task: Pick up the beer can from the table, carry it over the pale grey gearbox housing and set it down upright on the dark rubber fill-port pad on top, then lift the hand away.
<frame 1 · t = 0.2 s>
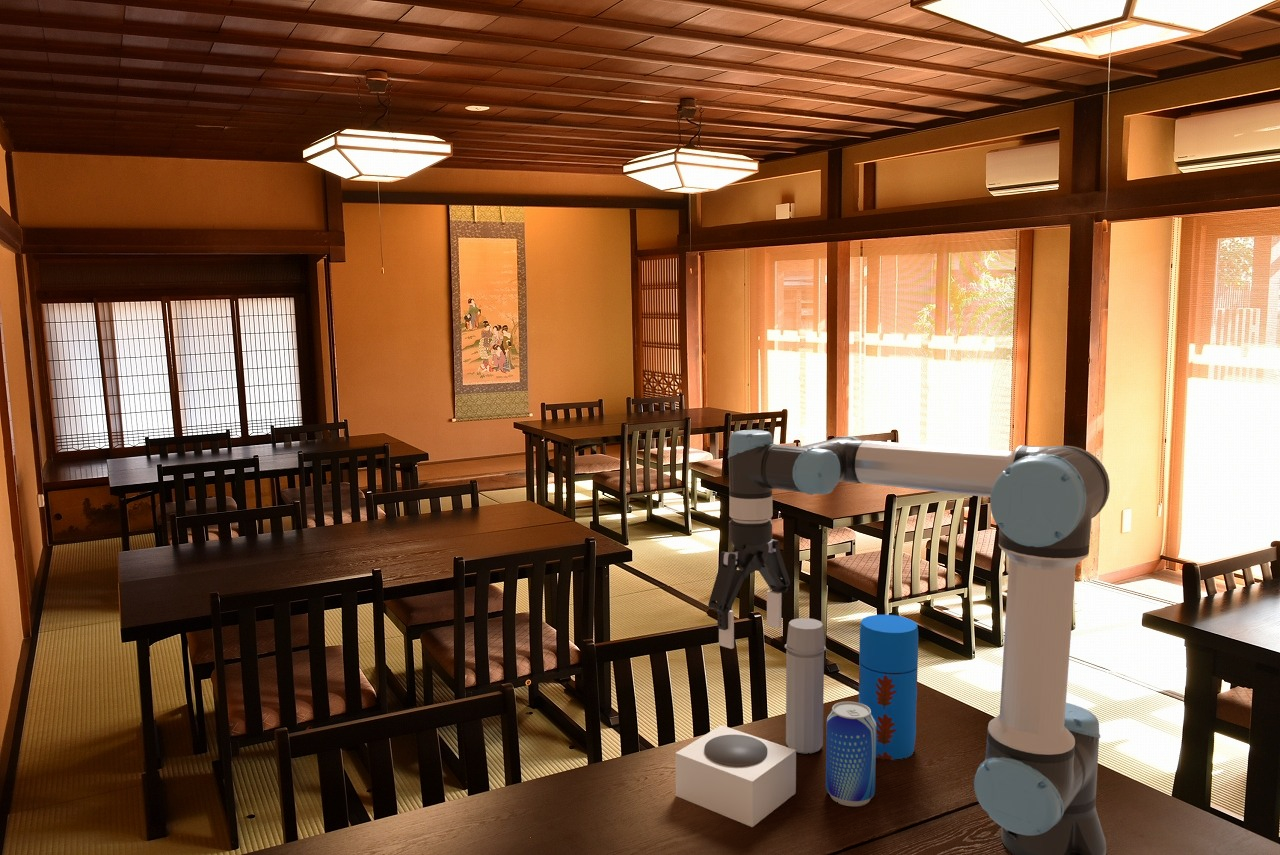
hand: (750, 636, 163), 27 cm above the table, tool pointing down, fingers open, 13 cm apart
beer can: (850, 797, 162), on the table
water bottle: (804, 745, 181), on the table
gearbox: (735, 794, 163), on the table
thermos: (886, 748, 180), on the table
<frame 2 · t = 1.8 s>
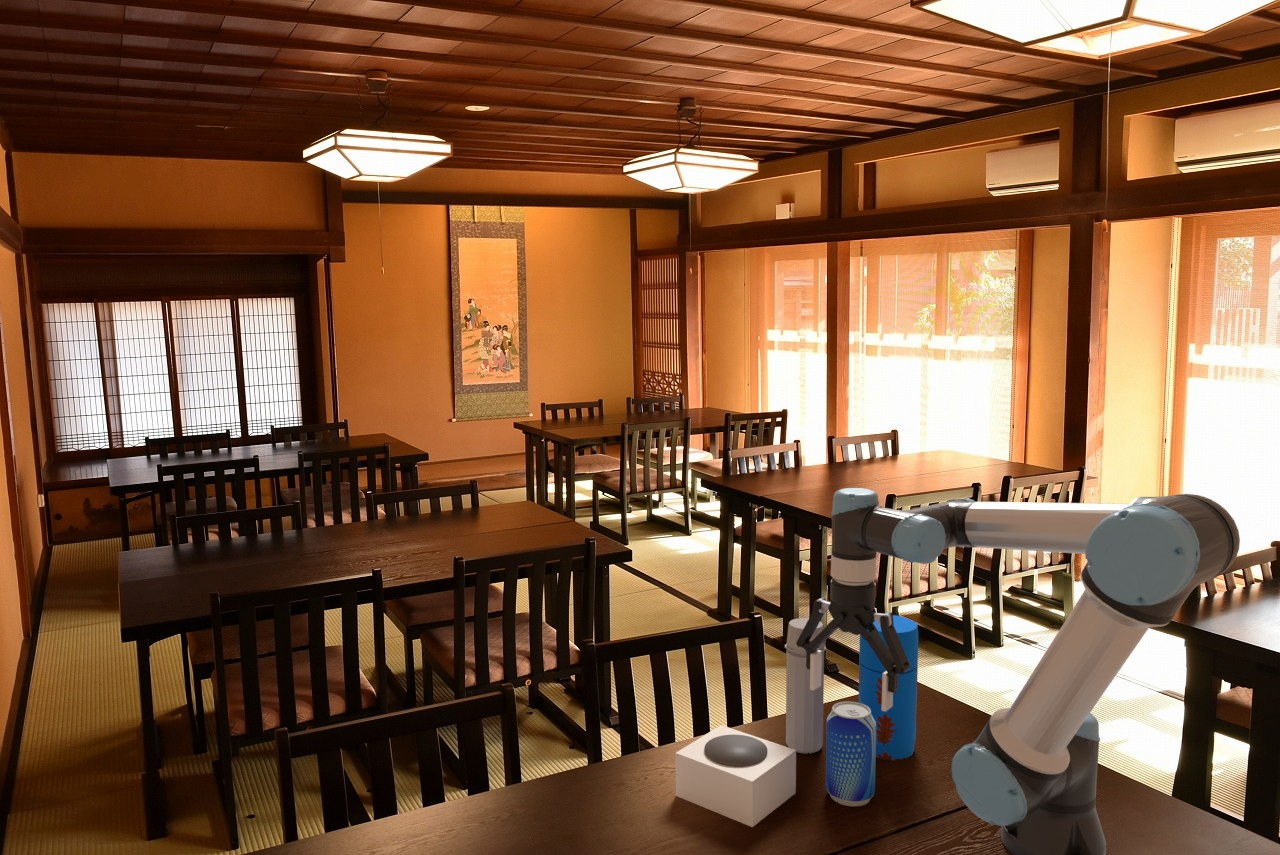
hand: (850, 698, 160), 18 cm above the table, tool pointing down, fingers open, 13 cm apart
nothing on the table moved.
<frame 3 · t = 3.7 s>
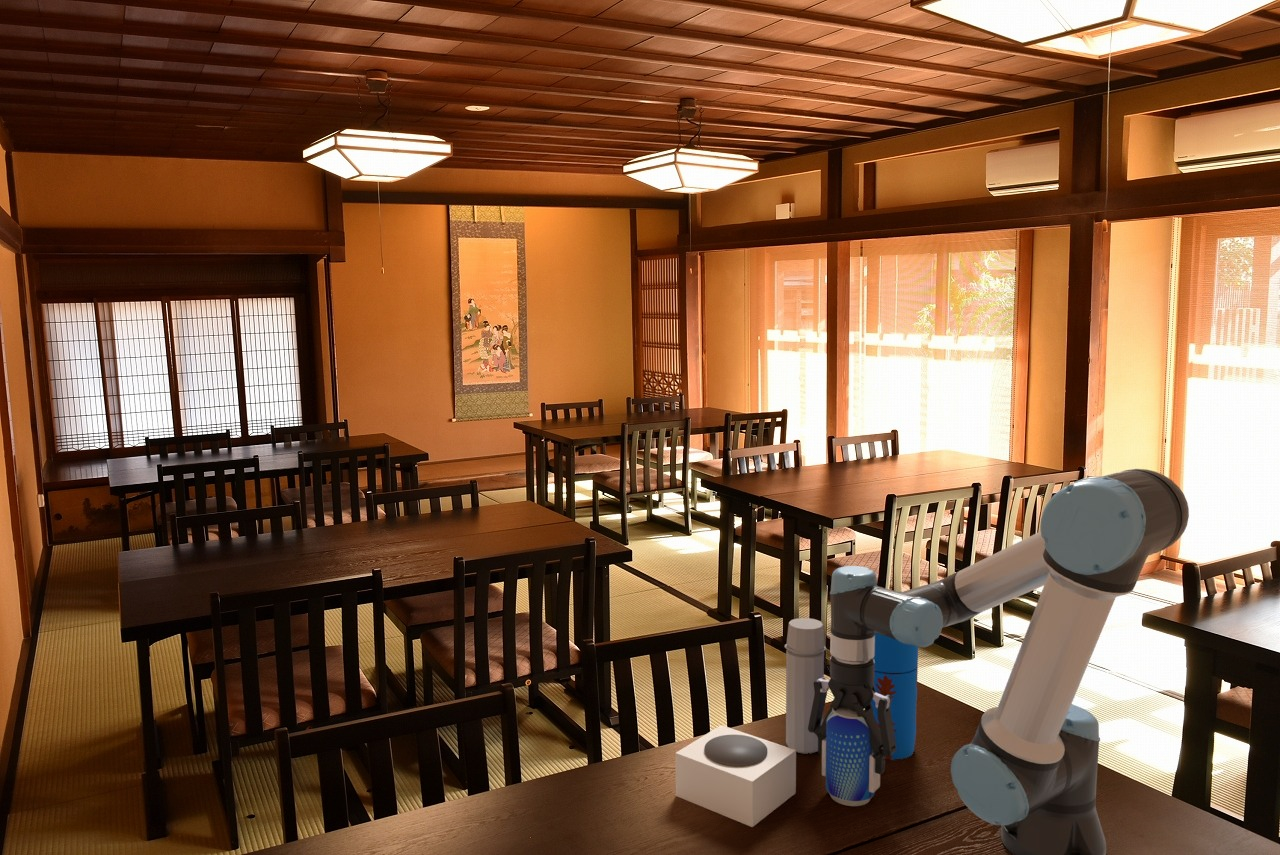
hand: (850, 780, 161), 3 cm above the table, tool pointing down, fingers closed on beer can, 8 cm apart
beer can: (850, 797, 162), on the table, touching gripper
everything else where it was.
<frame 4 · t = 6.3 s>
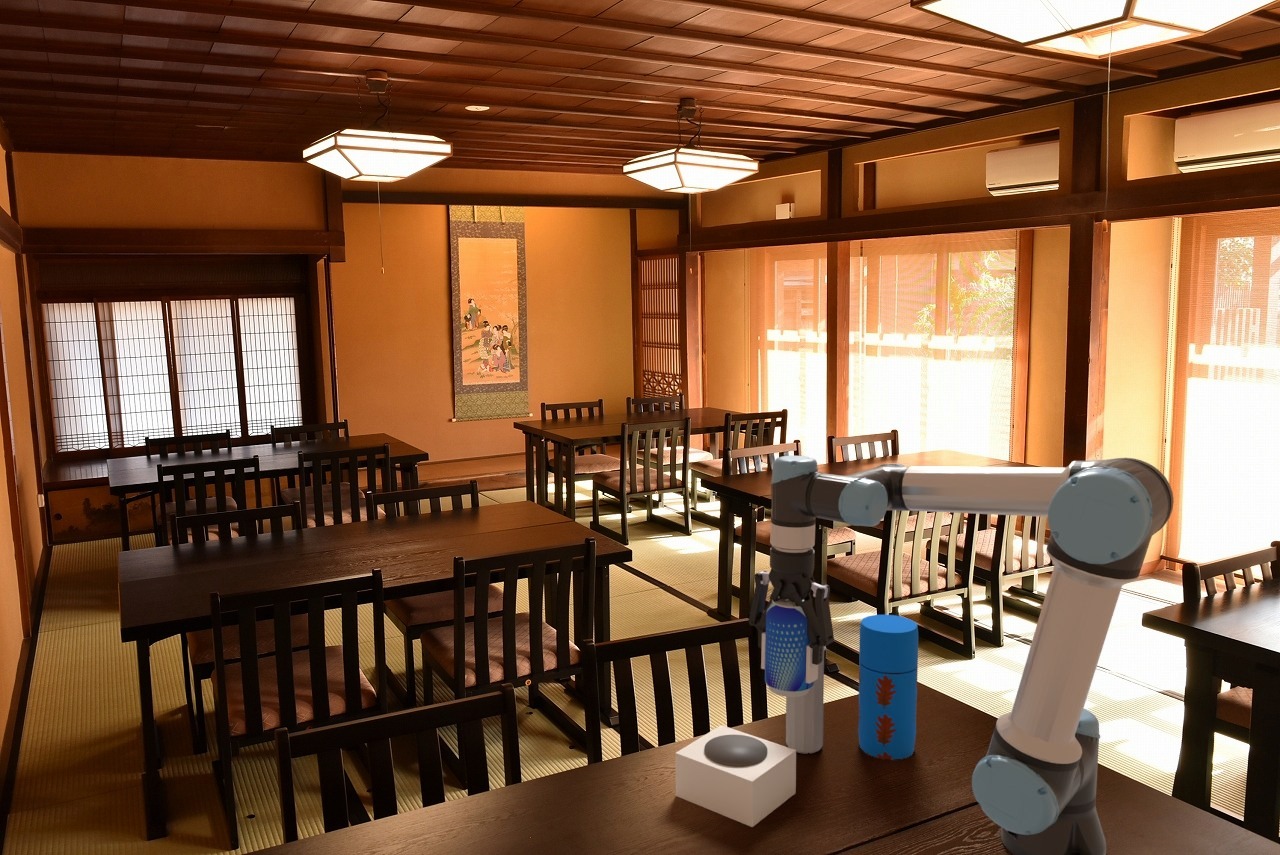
hand: (789, 673, 160), 22 cm above the table, tool pointing down, fingers closed on beer can, 8 cm apart
beer can: (788, 689, 161), point 19 cm above the table, touching gripper
everything else where it was.
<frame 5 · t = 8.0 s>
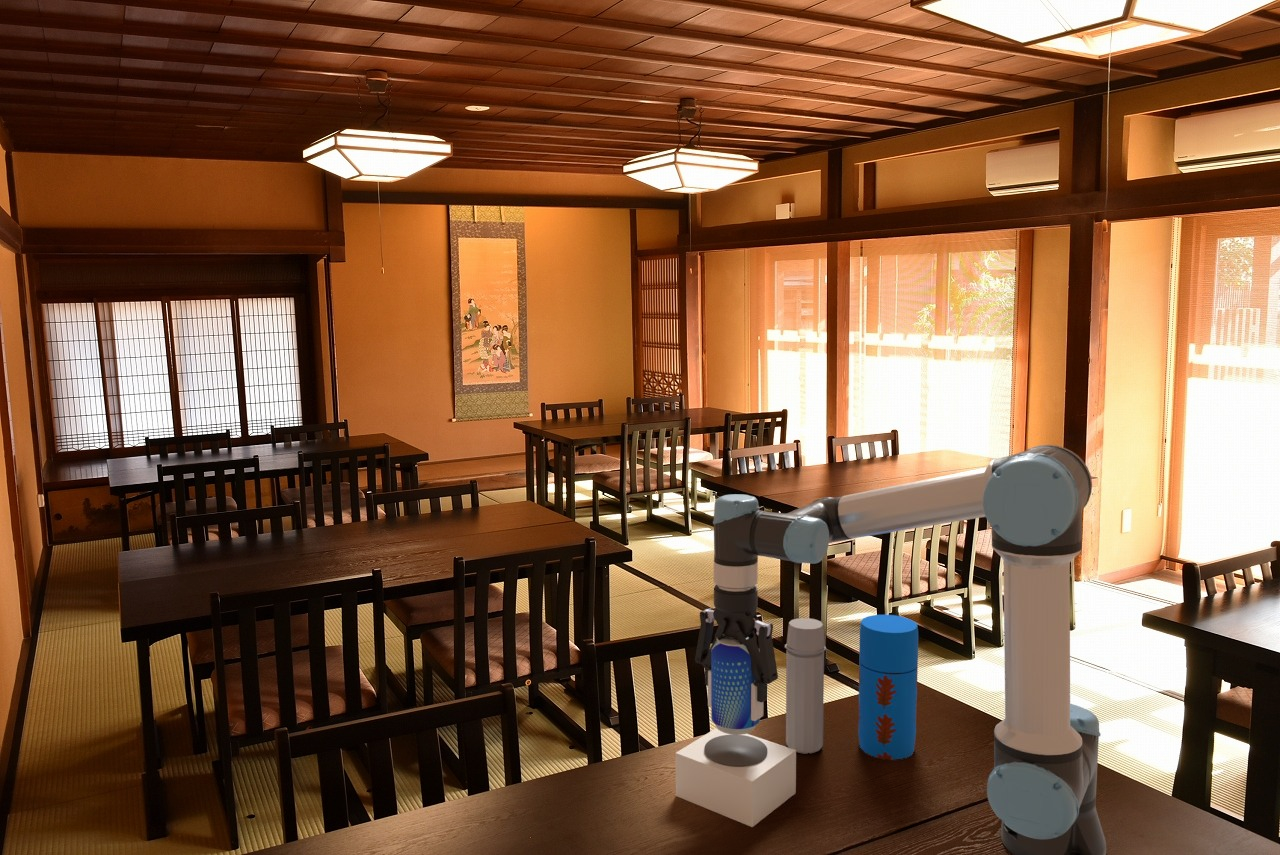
hand: (735, 710, 161), 15 cm above the table, tool pointing down, fingers closed on beer can, 8 cm apart
beer can: (735, 727, 161), point 12 cm above the table, touching gripper
everything else where it was.
when the fingers open (13 cm above the table, at t = 9.4 s): beer can drops 1 cm, resting on gearbox.
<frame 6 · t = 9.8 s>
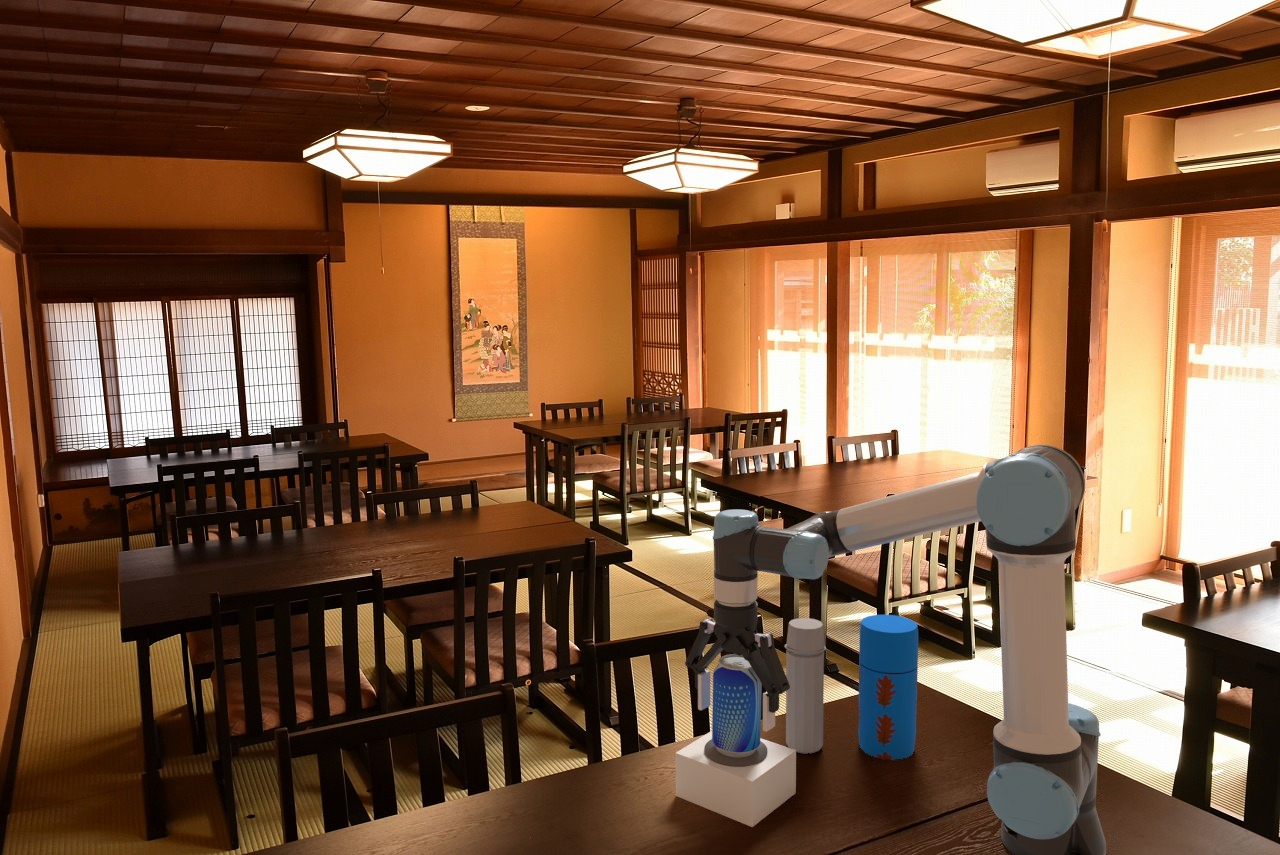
hand: (735, 717, 161), 14 cm above the table, tool pointing down, fingers open, 13 cm apart
beer can: (735, 749, 162), point 8 cm above the table, touching gearbox
everything else where it was.
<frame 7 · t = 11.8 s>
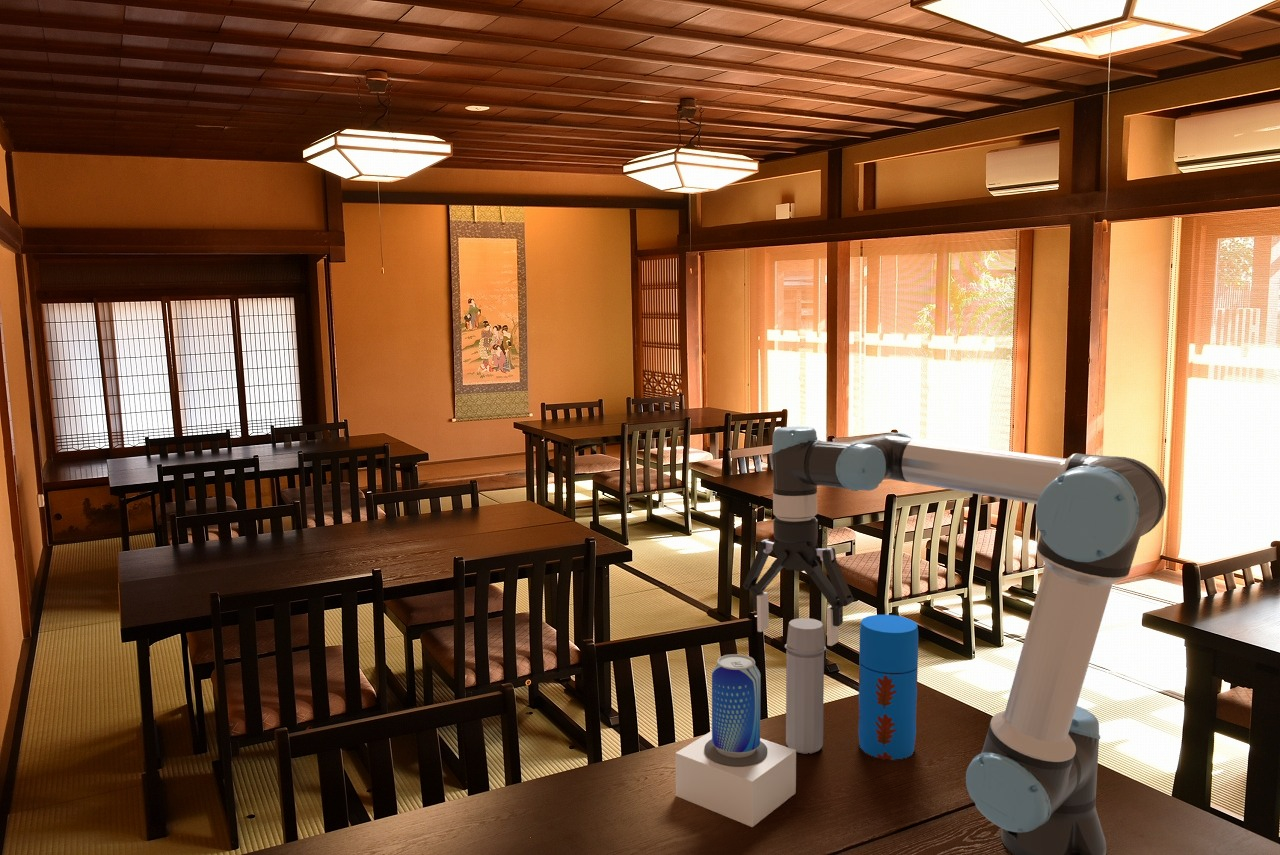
hand: (797, 636, 161), 28 cm above the table, tool pointing down, fingers open, 13 cm apart
nothing on the table moved.
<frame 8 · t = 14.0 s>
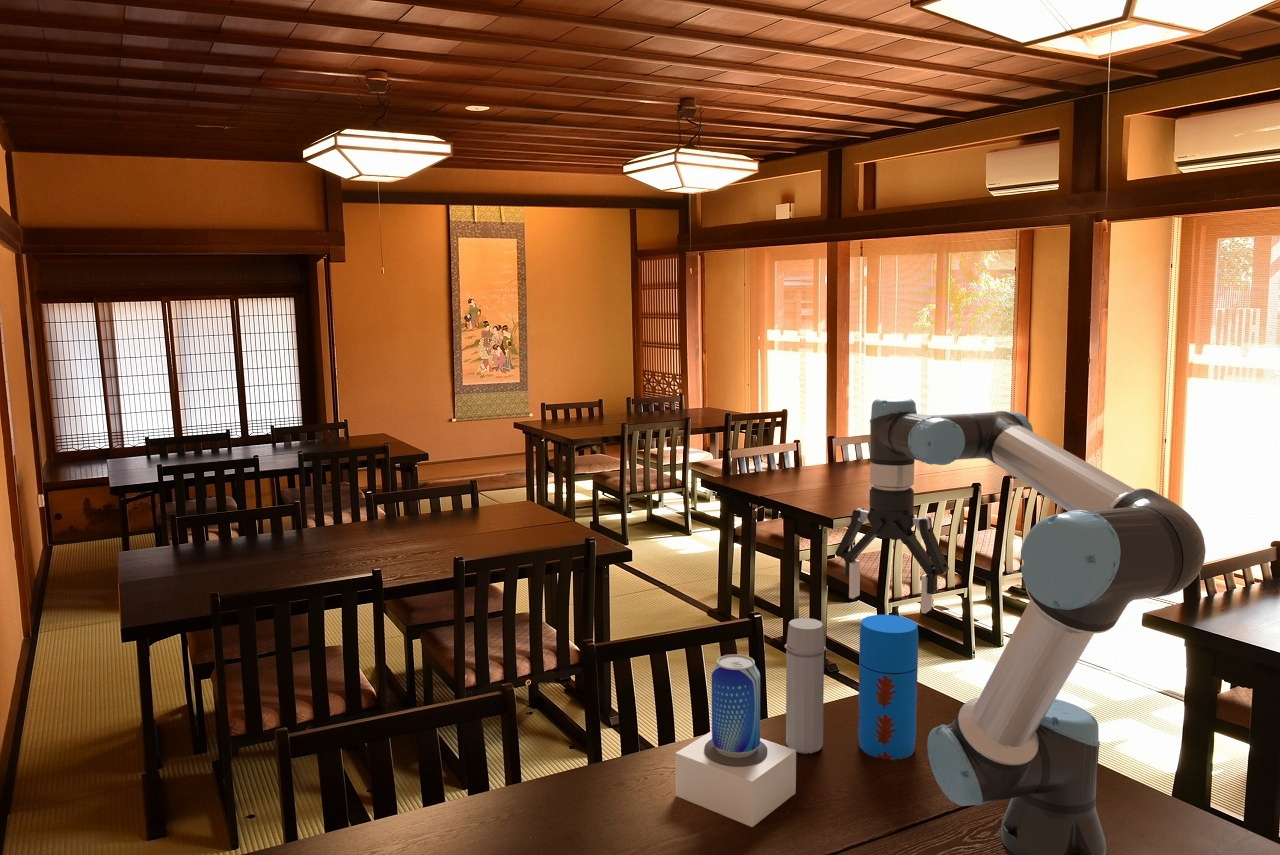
hand: (889, 603, 164), 33 cm above the table, tool pointing down, fingers open, 13 cm apart
nothing on the table moved.
at the end: beer can inside the target area on the gearbox (0.0 cm from its centre), point 8.3 cm above the gearbox's base; beer can tilted 0°; the gripper is holding nothing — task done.
